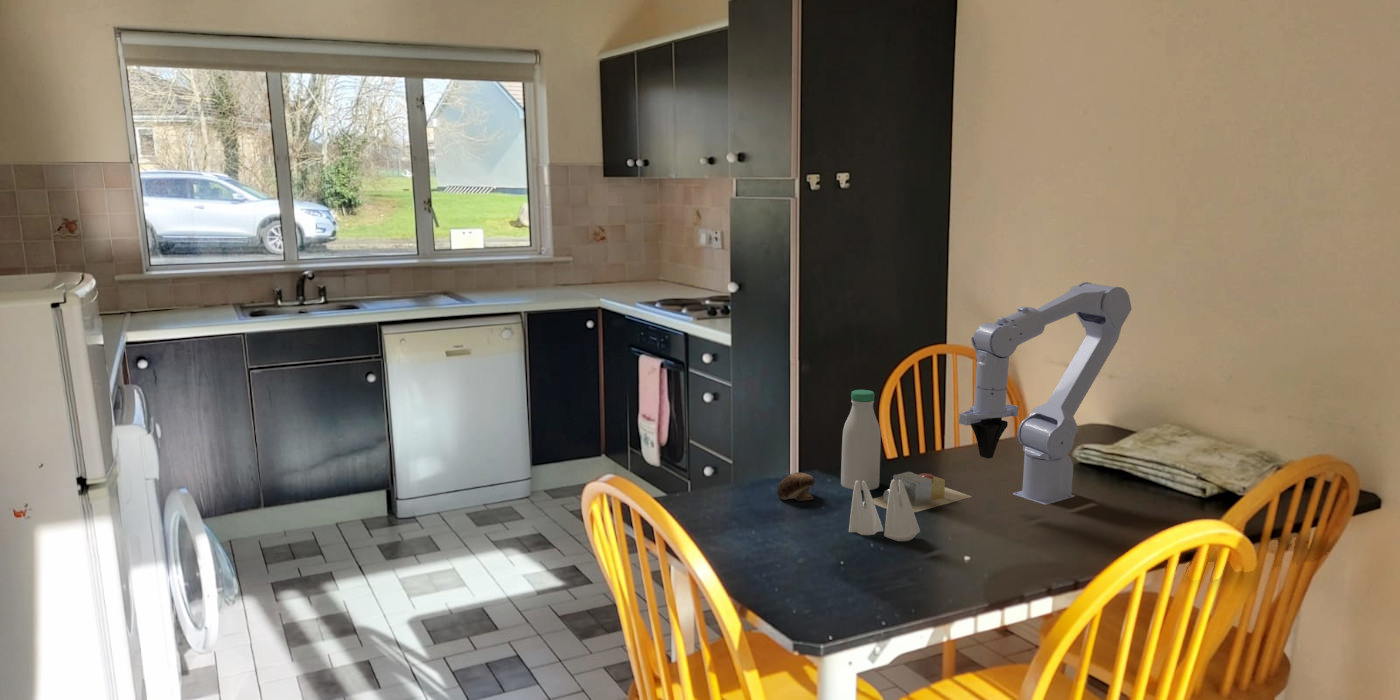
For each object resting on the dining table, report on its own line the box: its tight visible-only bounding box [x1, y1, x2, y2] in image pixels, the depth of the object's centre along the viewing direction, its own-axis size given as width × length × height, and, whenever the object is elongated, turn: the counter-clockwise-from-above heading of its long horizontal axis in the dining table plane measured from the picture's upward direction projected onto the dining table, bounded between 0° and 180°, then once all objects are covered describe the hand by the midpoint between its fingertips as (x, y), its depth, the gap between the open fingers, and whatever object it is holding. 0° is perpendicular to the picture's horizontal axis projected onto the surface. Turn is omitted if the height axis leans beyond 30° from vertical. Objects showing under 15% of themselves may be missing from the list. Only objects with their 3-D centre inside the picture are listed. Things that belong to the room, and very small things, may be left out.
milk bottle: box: [840, 389, 882, 491], centre depth 198 cm, size 8×8×20 cm
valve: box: [918, 472, 946, 501], centre depth 191 cm, size 8×4×4 cm, turn 124°
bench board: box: [872, 486, 973, 514], centre depth 191 cm, size 19×10×1 cm, turn 124°
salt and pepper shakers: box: [848, 478, 921, 542], centre depth 171 cm, size 12×4×11 cm, turn 59°
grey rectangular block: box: [882, 471, 932, 507], centre depth 188 cm, size 8×6×5 cm
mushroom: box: [777, 472, 816, 502], centre depth 191 cm, size 8×8×6 cm
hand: (986, 456), depth 187 cm, fingers closed
